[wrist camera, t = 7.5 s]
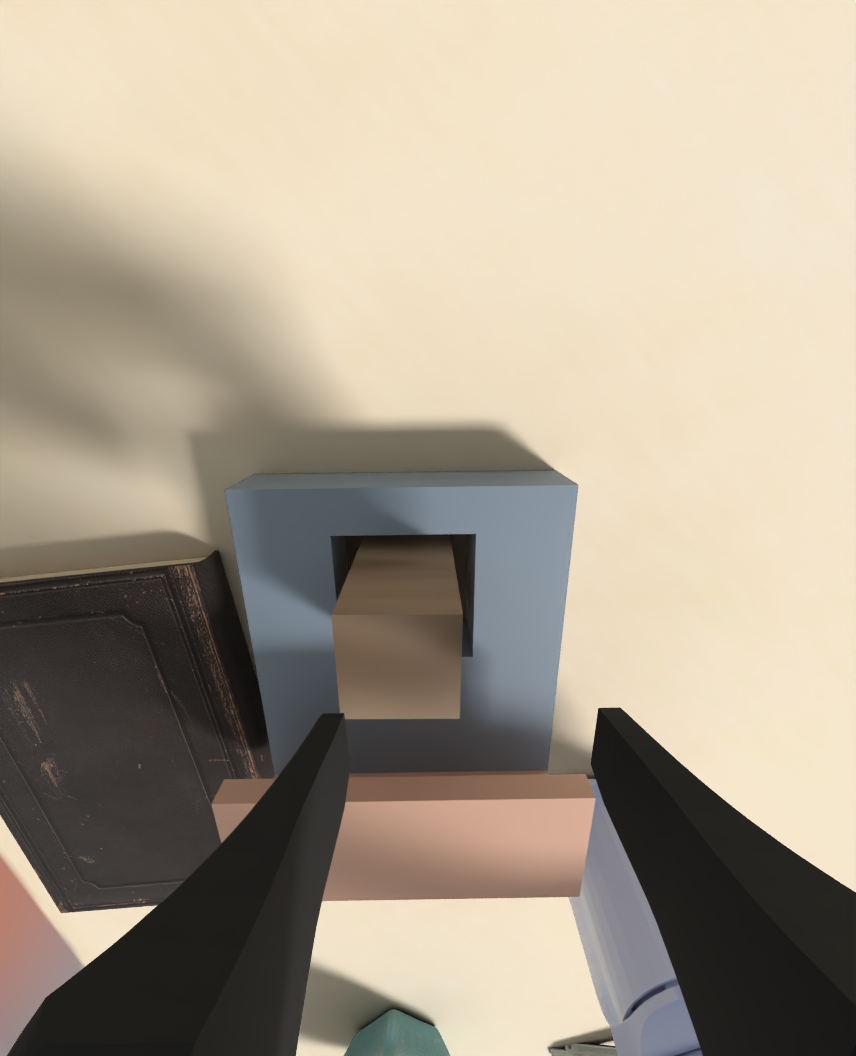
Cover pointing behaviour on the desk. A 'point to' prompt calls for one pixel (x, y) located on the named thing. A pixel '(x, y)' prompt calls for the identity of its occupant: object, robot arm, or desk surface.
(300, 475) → the socket block
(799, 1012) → the robot arm
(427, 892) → the salmon pink block
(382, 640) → the walnut peg
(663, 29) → the desk surface
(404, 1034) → the flower pot
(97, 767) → the hardcover book
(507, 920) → the desk surface
